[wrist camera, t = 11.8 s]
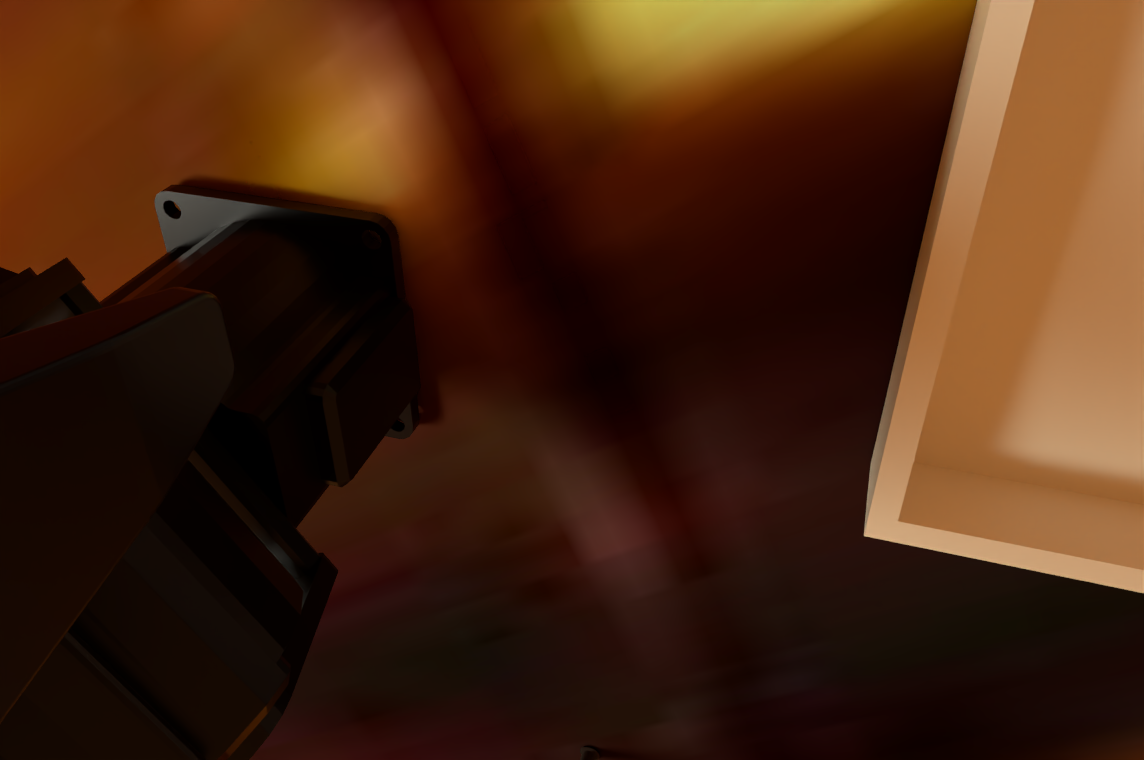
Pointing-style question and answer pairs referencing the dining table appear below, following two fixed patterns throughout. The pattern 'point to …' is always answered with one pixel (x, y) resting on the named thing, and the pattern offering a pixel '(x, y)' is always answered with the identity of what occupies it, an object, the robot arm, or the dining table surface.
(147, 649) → the robot arm
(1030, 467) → the bin
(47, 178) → the dining table surface
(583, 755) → the lollipop
